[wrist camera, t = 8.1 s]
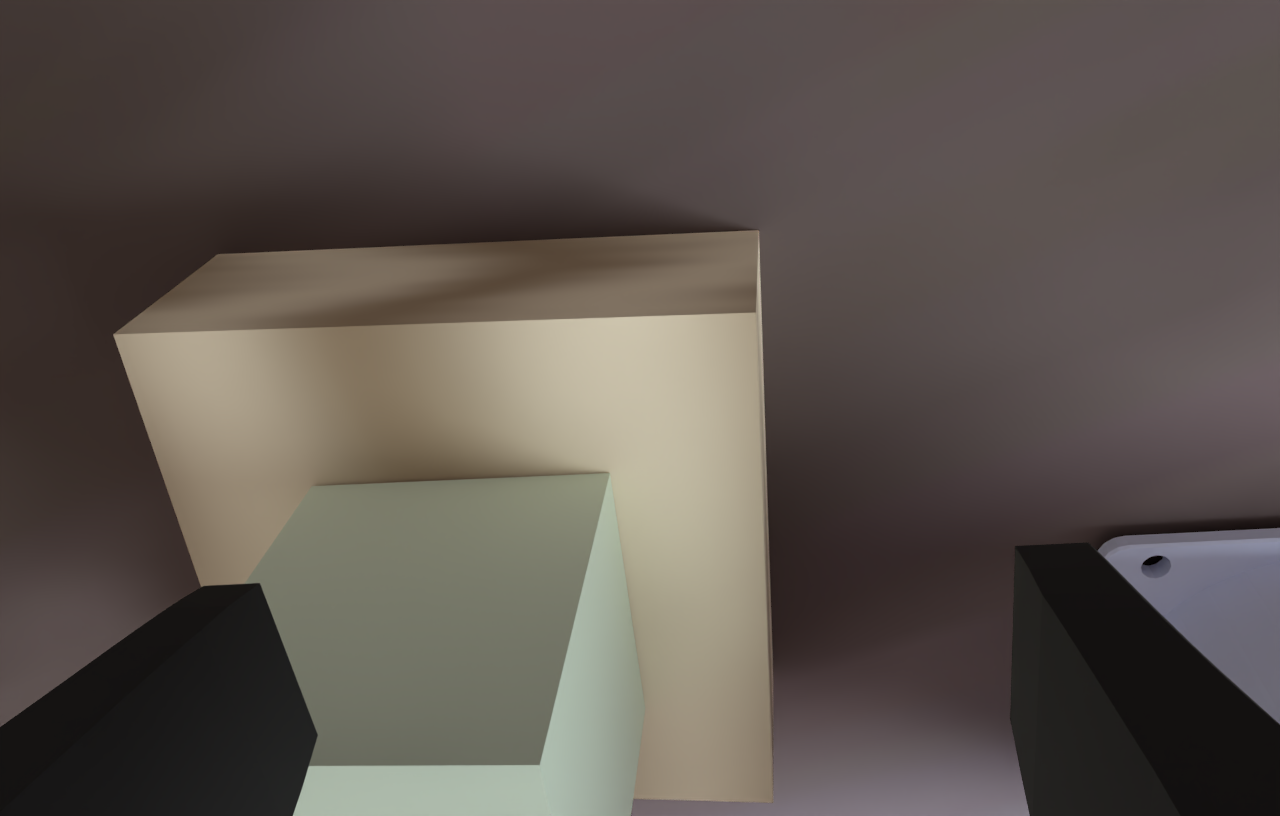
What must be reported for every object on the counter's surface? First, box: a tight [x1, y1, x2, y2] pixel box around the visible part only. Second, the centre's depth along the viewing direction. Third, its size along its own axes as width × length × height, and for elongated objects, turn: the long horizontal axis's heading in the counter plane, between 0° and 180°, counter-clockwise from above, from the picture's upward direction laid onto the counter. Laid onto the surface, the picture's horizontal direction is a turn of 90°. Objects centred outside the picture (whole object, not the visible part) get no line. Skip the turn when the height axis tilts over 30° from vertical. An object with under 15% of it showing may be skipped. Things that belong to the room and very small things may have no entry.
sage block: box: [245, 473, 645, 816], centre depth 16 cm, size 5×5×6 cm
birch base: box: [113, 230, 773, 803], centre depth 20 cm, size 10×10×4 cm
